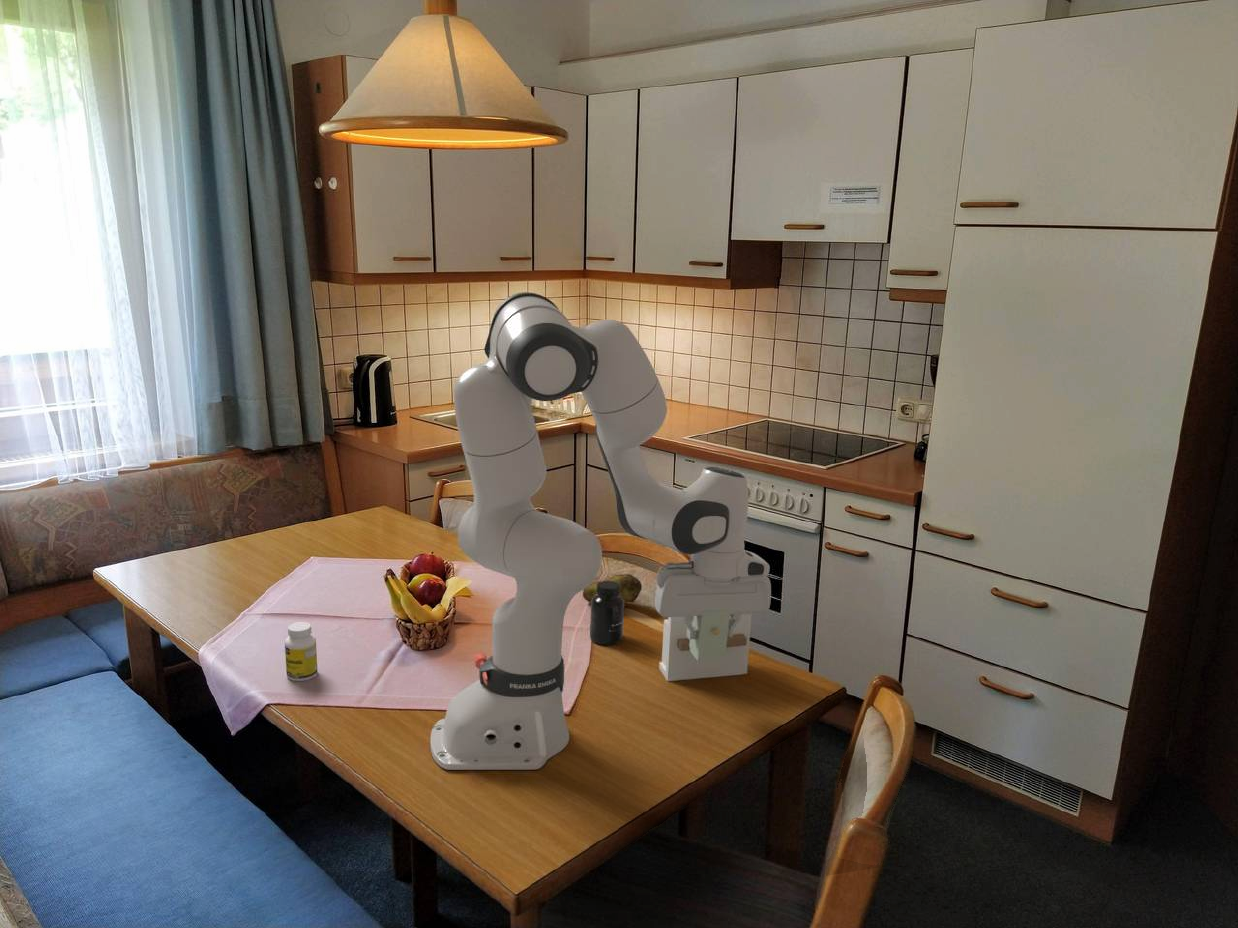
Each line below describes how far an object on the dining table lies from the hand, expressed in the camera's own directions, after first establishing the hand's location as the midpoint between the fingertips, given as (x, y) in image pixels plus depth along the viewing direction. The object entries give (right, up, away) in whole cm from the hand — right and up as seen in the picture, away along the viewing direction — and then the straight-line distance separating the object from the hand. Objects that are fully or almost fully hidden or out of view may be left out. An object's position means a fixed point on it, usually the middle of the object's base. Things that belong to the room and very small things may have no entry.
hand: (709, 637), depth 155 cm
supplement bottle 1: (-74, -9, +10) cm, 75 cm away
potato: (-17, -2, +47) cm, 50 cm away
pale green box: (0, -3, +1) cm, 3 cm away
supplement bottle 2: (-18, -6, +30) cm, 36 cm away
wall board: (+1, -10, +16) cm, 19 cm away
